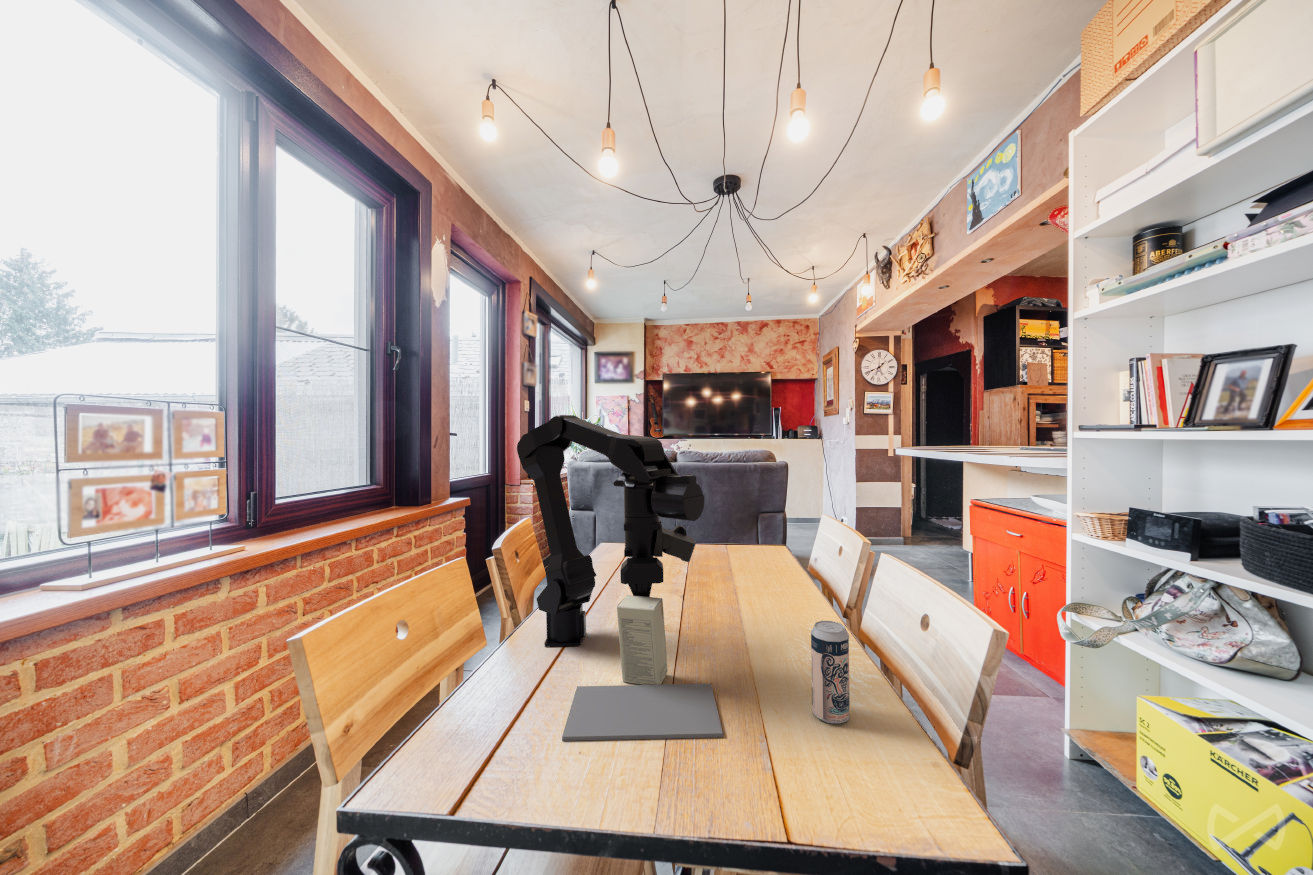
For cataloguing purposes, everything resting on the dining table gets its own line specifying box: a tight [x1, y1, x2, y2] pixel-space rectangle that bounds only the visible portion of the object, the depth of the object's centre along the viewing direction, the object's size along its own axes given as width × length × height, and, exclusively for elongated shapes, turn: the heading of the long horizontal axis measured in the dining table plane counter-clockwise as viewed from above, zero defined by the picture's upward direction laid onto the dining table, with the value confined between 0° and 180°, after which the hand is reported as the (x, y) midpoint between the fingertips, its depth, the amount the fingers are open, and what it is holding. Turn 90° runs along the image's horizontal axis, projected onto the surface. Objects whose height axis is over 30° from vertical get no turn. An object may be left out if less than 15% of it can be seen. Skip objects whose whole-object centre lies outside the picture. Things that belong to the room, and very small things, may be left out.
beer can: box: [810, 620, 851, 725], centre depth 64 cm, size 5×5×12 cm
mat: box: [561, 683, 724, 742], centre depth 66 cm, size 20×12×1 cm, turn 91°
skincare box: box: [616, 594, 668, 685], centre depth 74 cm, size 6×4×12 cm
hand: (643, 611), depth 78 cm, fingers closed
